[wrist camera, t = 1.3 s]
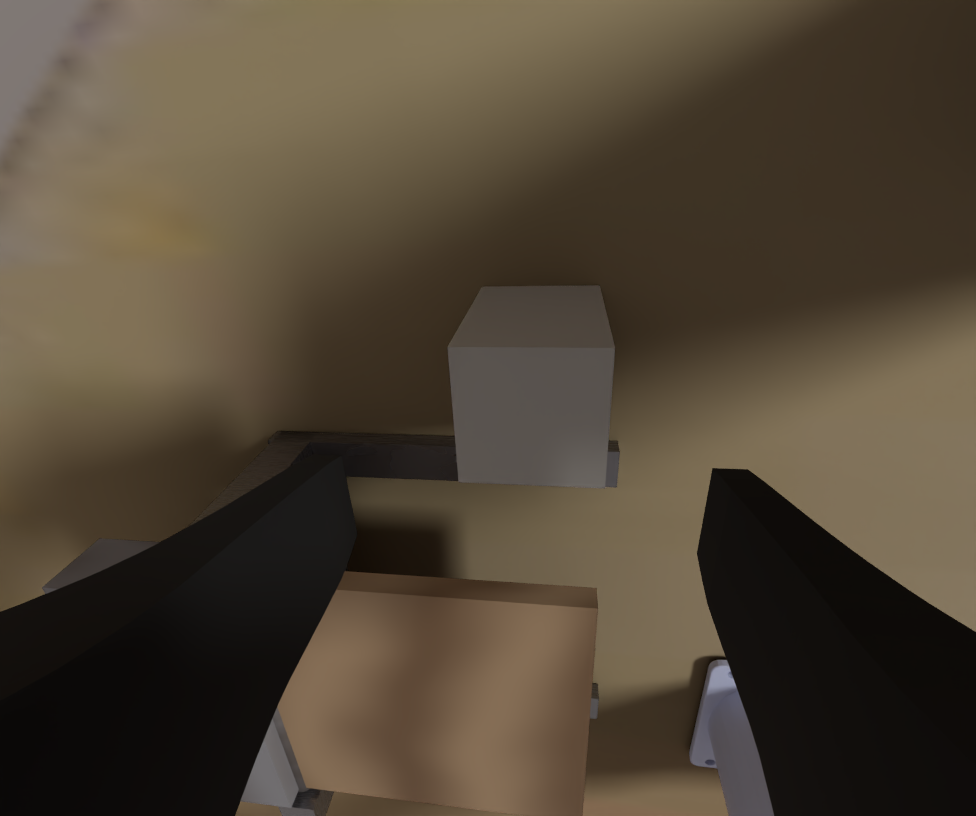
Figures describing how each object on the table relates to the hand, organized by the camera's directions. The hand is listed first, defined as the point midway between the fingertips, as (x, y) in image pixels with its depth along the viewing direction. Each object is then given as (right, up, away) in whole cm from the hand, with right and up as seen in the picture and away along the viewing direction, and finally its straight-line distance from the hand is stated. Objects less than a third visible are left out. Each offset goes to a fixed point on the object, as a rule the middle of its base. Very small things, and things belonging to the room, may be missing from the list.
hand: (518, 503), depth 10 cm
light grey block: (+1, +4, +8) cm, 9 cm away
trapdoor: (-6, -8, +10) cm, 15 cm away
